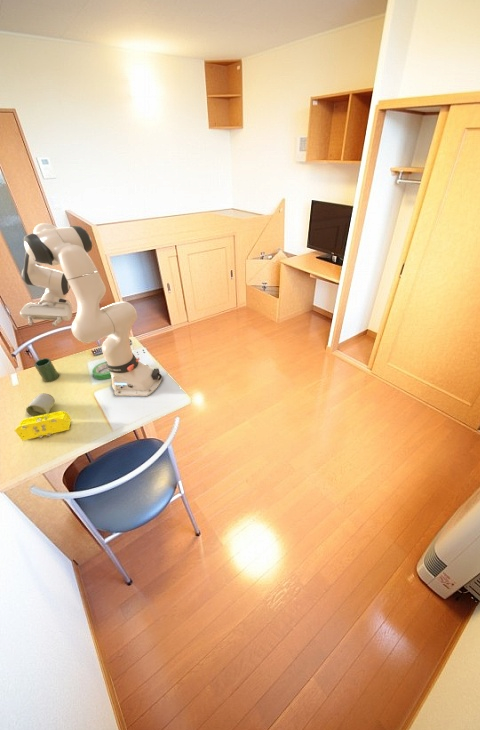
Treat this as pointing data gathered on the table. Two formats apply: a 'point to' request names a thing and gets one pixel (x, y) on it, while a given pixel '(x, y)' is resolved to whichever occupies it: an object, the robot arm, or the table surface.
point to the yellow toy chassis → (43, 425)
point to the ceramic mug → (40, 405)
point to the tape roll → (101, 375)
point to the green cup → (46, 369)
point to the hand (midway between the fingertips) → (42, 324)
